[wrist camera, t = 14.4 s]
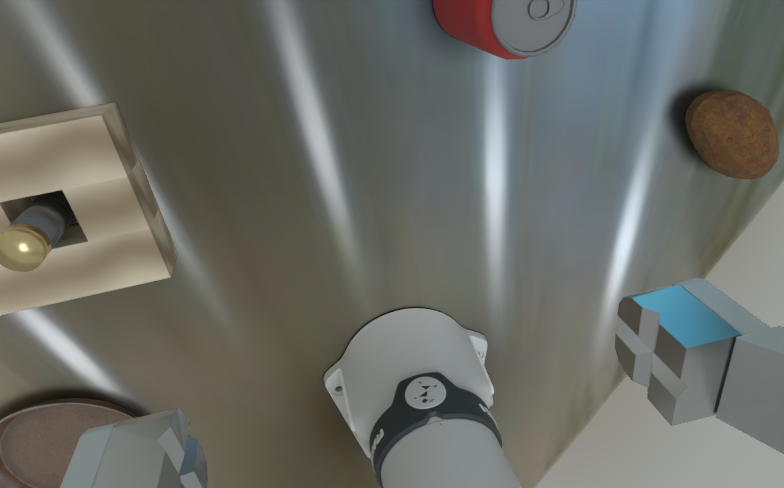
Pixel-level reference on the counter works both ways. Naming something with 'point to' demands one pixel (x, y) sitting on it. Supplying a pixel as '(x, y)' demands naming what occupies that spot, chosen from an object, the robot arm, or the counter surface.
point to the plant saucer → (49, 439)
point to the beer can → (507, 24)
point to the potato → (733, 133)
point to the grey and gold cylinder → (35, 232)
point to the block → (82, 207)
